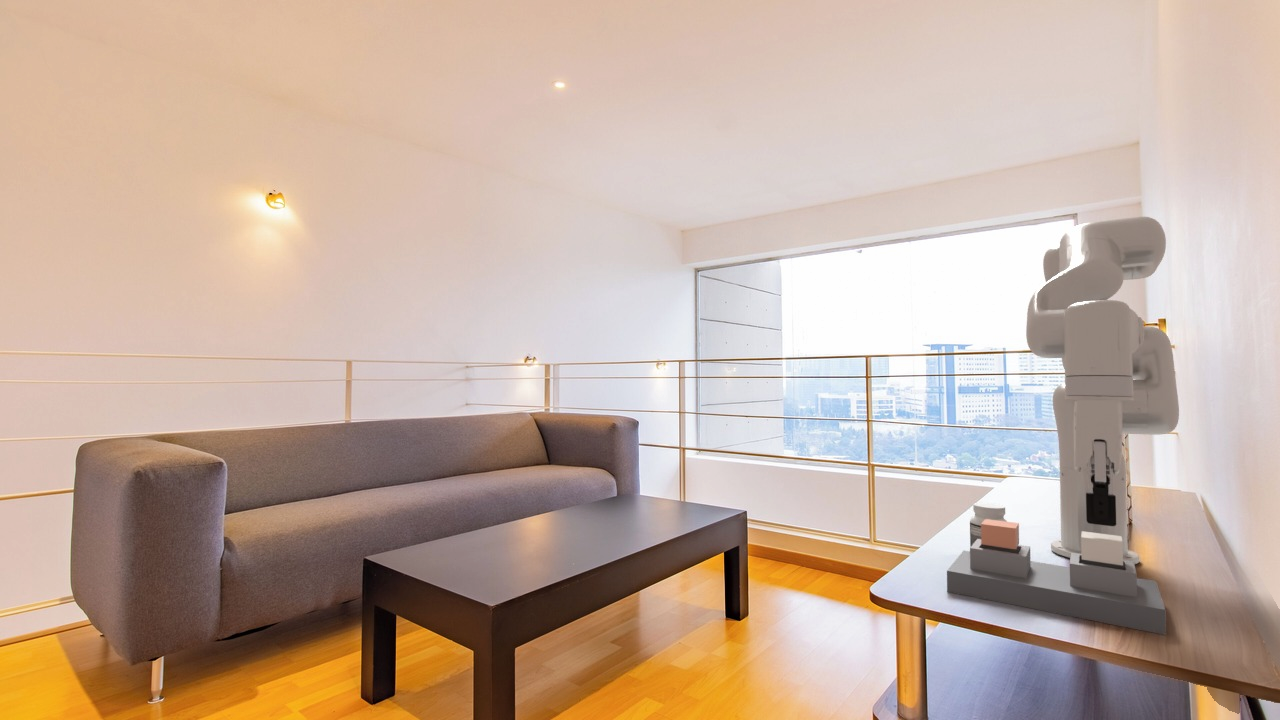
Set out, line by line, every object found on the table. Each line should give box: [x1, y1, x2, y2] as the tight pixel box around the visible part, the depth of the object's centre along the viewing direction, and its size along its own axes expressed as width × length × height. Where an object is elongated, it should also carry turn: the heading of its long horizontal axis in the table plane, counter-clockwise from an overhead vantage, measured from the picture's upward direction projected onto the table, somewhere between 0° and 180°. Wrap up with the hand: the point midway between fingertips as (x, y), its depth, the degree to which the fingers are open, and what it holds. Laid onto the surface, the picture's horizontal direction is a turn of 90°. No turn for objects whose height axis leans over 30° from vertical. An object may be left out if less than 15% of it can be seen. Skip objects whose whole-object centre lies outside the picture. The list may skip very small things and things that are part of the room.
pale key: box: [1081, 531, 1123, 565], centre depth 82 cm, size 4×4×3 cm
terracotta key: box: [981, 519, 1020, 549], centre depth 89 cm, size 4×4×3 cm
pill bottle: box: [969, 502, 1008, 548], centre depth 101 cm, size 6×6×10 cm
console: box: [946, 539, 1167, 636], centre depth 85 cm, size 14×24×6 cm, turn 53°
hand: (1101, 523), depth 81 cm, fingers closed
